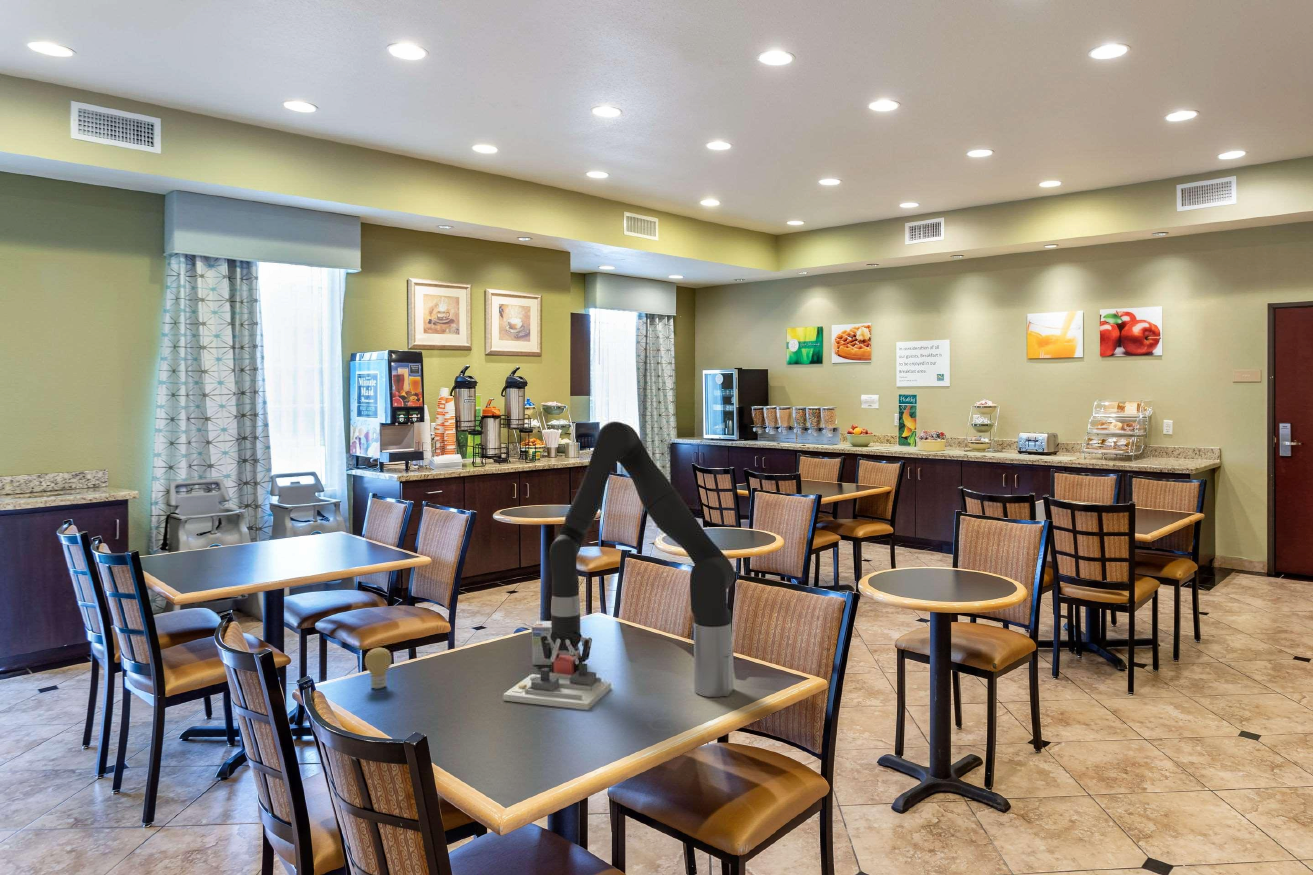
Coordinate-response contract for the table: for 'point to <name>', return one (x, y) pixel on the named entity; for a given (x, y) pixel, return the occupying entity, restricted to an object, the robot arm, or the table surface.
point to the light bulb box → (537, 650)
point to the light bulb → (378, 666)
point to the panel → (562, 690)
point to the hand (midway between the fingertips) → (566, 675)
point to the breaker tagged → (545, 681)
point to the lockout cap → (564, 665)
